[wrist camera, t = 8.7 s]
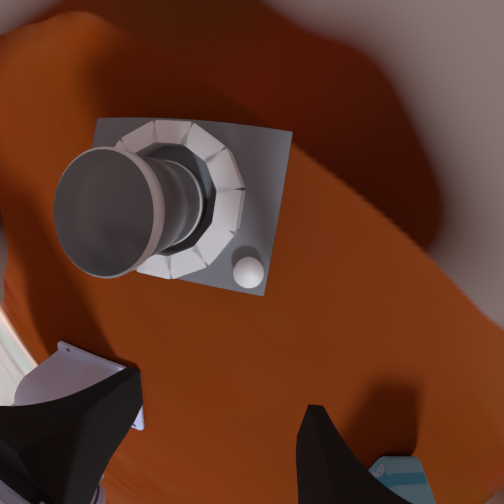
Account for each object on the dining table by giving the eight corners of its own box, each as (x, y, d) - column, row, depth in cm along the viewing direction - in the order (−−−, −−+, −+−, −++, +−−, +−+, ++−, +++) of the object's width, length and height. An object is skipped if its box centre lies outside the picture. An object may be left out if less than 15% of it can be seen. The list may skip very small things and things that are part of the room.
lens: (133, 240, 16) (55, 271, 10) (135, 162, 15) (53, 152, 9) (207, 245, 16) (156, 286, 9) (211, 161, 15) (158, 141, 8)
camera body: (110, 245, 21) (70, 261, 16) (124, 127, 19) (85, 114, 14) (267, 277, 20) (261, 305, 15) (290, 142, 18) (293, 126, 13)
